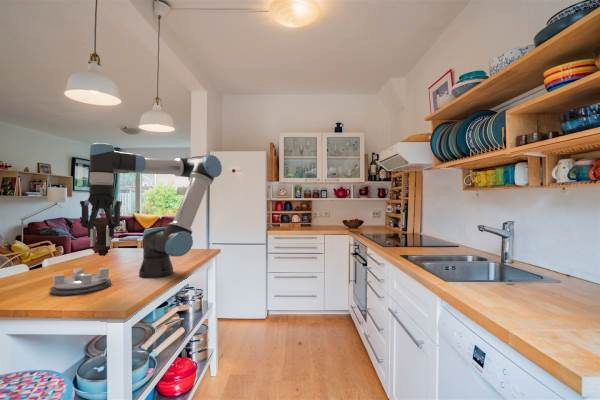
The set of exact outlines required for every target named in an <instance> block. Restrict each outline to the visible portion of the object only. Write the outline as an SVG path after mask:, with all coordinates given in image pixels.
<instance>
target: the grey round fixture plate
mask: <svg viewBox="0 0 600 400" xmlns="http://www.w3.org/2000/svg"><path fill="white" fill-rule="evenodd" d="M109 270H110V269H109V268H108V267H101V268H98V273H97V272H95V273H90V272H84V268H83V267H79V268H78V267H77V268H73V270H72V275H71V276H67V277H65V274H64V273H58V274H53V276H52V283H53V286H52V287H53V288H54V289H55V290H61V291H69V290H80V289H87V288H92V287H96V286H100V285H103V284H105V283H107V282H108V279H109V275H110V271H109Z"/></svg>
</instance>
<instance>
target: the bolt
mask: <svg viewBox="0 0 600 400" xmlns="http://www.w3.org/2000/svg"><path fill="white" fill-rule="evenodd" d="M108 225H109V219H106V216H105V217H103V216H102V217H101V216H100V217H97V218H96V219H94V220H92V226H94V228H96V244H95V246H94V247H95V249H96V250H97V254H98V256H100V257H102V256H103V257H106V255H107V254H108V253H109V248H110V246H106V229H108Z"/></svg>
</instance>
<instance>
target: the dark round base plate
mask: <svg viewBox="0 0 600 400" xmlns="http://www.w3.org/2000/svg"><path fill="white" fill-rule="evenodd" d="M111 285H112V280H111V279H109V278H108V282H107V283H105V284H103V285H100V286H96V287H92V288H87V289H80V290H69V291H61V290H55V289H54V288H53V286H52V287H50V288H49V294H50V295H51V296H57V297H69V296H70V297H71V296H78V295H79V296H80V295H86V294H90V293H96V292H99V291H102V290H105V289H107V288H109V287H111Z"/></svg>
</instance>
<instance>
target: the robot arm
mask: <svg viewBox="0 0 600 400" xmlns="http://www.w3.org/2000/svg"><path fill="white" fill-rule="evenodd" d="M222 171H223V166H222V163H221V160H220V159H219V158H218V157H217V156H215V155H213V154H205V155H201V156H200V155H197V156H192V157H185V158H183V157H182V158H175V159H165V158H154V157H153V158H151V157H150V158H149V157H145V156H144V155H142V154H137V153H131V152H123V151H118V150H117V151H116V150H115V148H114V145H113V144H109V143H103V142H93V143H91V144H90V149H89V179H88V181H89V186H88V187H89V189H88V190H89V196H88V198H87V199H86V200H80V201H79V205H80V207H81V227H82V228H85V229H87V237H88V238H89V240H90V241H89V243H90V244H89V247H90V248H91V247H95V244H96V242H97V232H96V227H95V226H92V220H94V219H96V218H98V214H99V211H100V210H101V209H102V210H103V212H104V213H105V214H104V215H105V218H106V219H109V225H108V226H107V228H106V246H109V247H110V246H112V238H113V237H114V236H115V228H118V227H120V226H121V206H122V205H123V201H121V200H117V199H115V197H114V186H113V185H114V179H115V178H114V174H142V175H145V174H148V175H149V174H150V175H174V176H175V177H183V178H189V179H190V182H189V184H188V186H187V188H186V191H185V193H184V195H183V198H182V200H181V203H180V204H179V207H178V209H177V211H176V214H175V216H174V218H173V221H172V222H169V223H168V224H167V226H161V227H151V228H150V227H149V228H145V229H144V231H143V236H142V239H143V240H142V241H143V243H142V245H143V248H142V249H143V251H142V253H143V254H142V255H143V259H142V262H141V264H140V268H139V271H138V277H140V278H144V279H153V278H154V279H155V278H163V277H167V276H170V275H172V274H173V273H174V267H173V264H172V261H171V258H170V257H172V258H173V257H182V256H185V255H186V254H188V253H189V252H190V251H191V249H192V247H193V245H194V244H193V243H194V240H193V235H192V234H193V230H192V225H193V223H194V221H195V218H196V216H197V213H198V211H199V208H200V206H201V204H202V201H203V198H204V196H205V194H206V191H207V189H208V186H209V185H212V184H213V182H214V180H215V178H218V177H219V176H220V175H221V174H222ZM89 205H90V206H92V207H91V212H90V210H89V208H90V207H89ZM112 205H113V206H114V207H113V208H114V210H113V213H112V208H111V206H112ZM89 212H90V216H89Z"/></svg>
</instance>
